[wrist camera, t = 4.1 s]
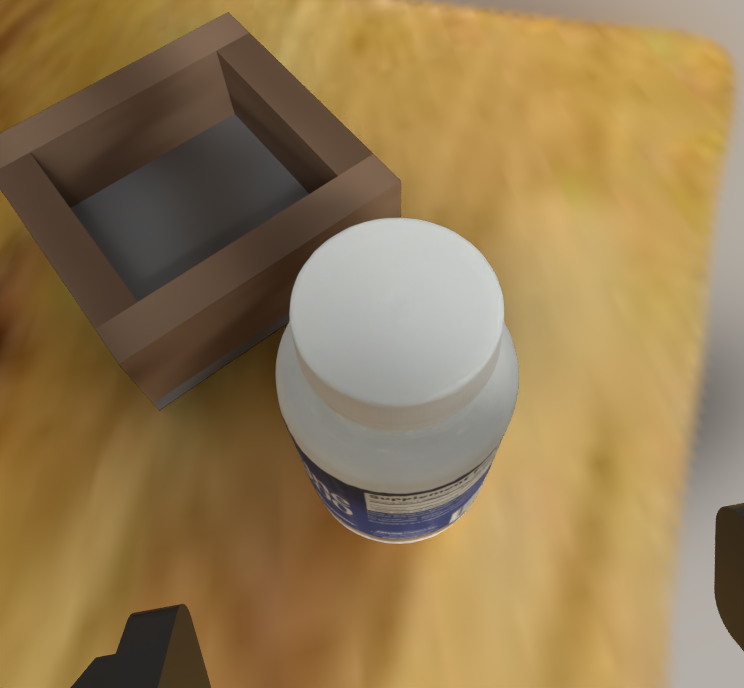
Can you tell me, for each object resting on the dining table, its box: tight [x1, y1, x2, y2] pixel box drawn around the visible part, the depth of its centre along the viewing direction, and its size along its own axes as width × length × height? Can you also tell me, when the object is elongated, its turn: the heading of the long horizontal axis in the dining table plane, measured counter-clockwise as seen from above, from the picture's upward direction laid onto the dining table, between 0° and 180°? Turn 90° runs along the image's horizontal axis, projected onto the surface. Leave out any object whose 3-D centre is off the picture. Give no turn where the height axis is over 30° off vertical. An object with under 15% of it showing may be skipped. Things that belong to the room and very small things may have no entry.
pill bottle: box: [276, 218, 519, 544], centre depth 17 cm, size 5×5×10 cm
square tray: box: [0, 12, 401, 410], centre depth 24 cm, size 10×10×4 cm
